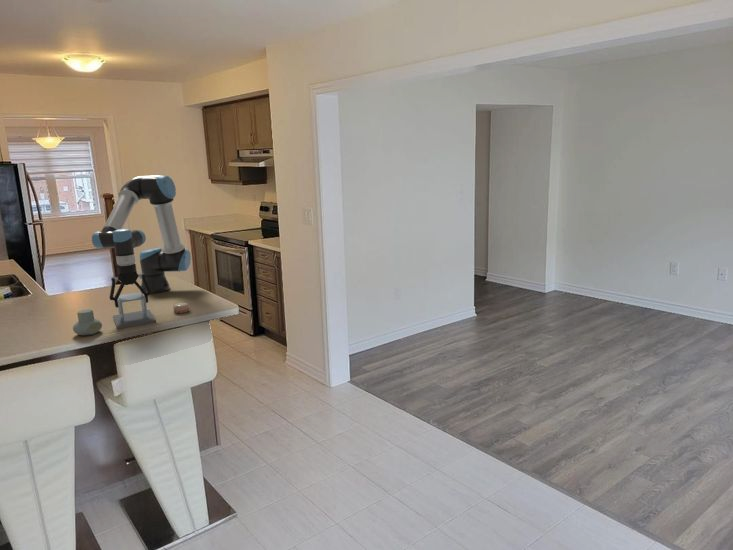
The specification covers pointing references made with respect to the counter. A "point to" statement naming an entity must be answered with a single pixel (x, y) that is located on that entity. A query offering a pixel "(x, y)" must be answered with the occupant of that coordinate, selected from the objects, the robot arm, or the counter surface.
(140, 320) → the mat
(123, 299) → the grey arch block
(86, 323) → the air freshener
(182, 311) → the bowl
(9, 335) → the counter surface
